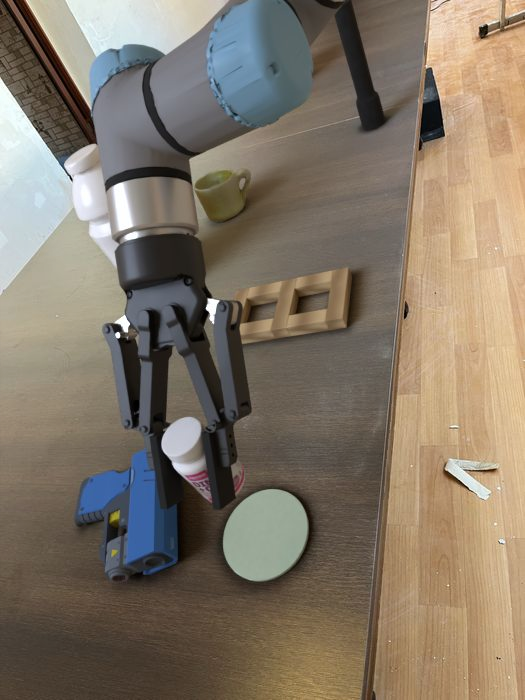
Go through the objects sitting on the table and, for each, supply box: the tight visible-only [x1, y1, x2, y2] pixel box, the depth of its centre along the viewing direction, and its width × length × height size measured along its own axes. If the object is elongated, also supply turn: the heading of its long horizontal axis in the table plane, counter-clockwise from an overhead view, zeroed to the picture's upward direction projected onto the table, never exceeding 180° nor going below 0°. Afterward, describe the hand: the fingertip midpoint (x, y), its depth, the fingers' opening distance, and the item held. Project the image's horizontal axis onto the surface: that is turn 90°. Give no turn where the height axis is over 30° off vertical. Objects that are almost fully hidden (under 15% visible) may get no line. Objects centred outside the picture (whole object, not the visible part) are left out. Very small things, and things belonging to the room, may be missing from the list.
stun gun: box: [73, 448, 179, 583], centre depth 61 cm, size 4×16×15 cm
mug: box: [193, 168, 252, 223], centre depth 106 cm, size 12×10×10 cm
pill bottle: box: [162, 416, 246, 503], centre depth 45 cm, size 5×5×8 cm
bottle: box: [63, 143, 120, 270], centre depth 90 cm, size 14×14×28 cm
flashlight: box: [333, 0, 386, 131], centre depth 100 cm, size 5×24×5 cm
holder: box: [233, 266, 353, 345], centre depth 76 cm, size 20×11×2 cm, turn 79°
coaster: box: [222, 488, 310, 583], centre depth 53 cm, size 10×10×1 cm
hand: (198, 503), depth 43 cm, fingers closed on pill bottle, 5 cm apart
